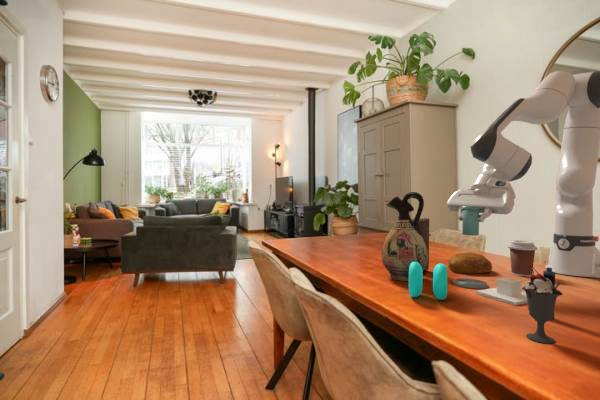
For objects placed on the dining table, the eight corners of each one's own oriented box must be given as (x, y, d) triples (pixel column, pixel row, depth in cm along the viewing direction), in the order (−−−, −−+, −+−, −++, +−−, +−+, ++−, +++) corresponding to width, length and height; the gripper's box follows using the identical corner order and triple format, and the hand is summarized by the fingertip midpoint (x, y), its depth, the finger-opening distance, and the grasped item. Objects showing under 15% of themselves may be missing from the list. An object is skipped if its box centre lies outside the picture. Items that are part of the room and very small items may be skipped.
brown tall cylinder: (430, 273, 131) (430, 219, 130) (409, 272, 132) (409, 218, 132) (427, 269, 138) (427, 217, 138) (407, 268, 140) (407, 217, 139)
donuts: (447, 305, 95) (447, 267, 95) (408, 301, 98) (408, 264, 98) (445, 294, 104) (446, 260, 104) (410, 291, 108) (410, 258, 108)
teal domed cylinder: (469, 233, 119) (469, 206, 118) (483, 235, 114) (484, 206, 113) (457, 233, 116) (458, 206, 116) (471, 236, 111) (472, 207, 111)
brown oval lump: (497, 281, 129) (501, 259, 129) (454, 274, 130) (458, 253, 129) (478, 270, 144) (481, 251, 143) (439, 265, 144) (443, 245, 144)
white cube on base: (503, 288, 110) (503, 273, 110) (543, 299, 100) (544, 282, 99) (476, 293, 105) (476, 277, 105) (515, 305, 94) (515, 287, 94)
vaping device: (550, 320, 83) (551, 269, 83) (527, 313, 88) (528, 265, 88) (557, 318, 85) (558, 268, 84) (533, 312, 89) (534, 264, 89)
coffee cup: (504, 274, 129) (504, 241, 129) (510, 270, 136) (511, 239, 136) (534, 278, 123) (534, 244, 123) (539, 274, 130) (539, 241, 129)
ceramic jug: (377, 281, 120) (378, 191, 119) (384, 271, 134) (385, 191, 133) (431, 286, 113) (432, 192, 113) (433, 275, 128) (434, 191, 127)
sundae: (513, 332, 76) (514, 263, 76) (543, 331, 77) (544, 262, 76) (536, 346, 70) (538, 269, 69) (568, 345, 70) (570, 269, 70)
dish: (467, 279, 122) (467, 277, 122) (494, 286, 113) (494, 284, 113) (446, 282, 118) (446, 280, 118) (472, 290, 109) (472, 287, 109)
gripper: (453, 183, 127) (436, 211, 122) (515, 182, 110) (499, 215, 105) (459, 195, 130) (444, 224, 124) (521, 197, 113) (506, 229, 108)
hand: (469, 220), depth 115 cm, fingers closed on teal domed cylinder, 5 cm apart
